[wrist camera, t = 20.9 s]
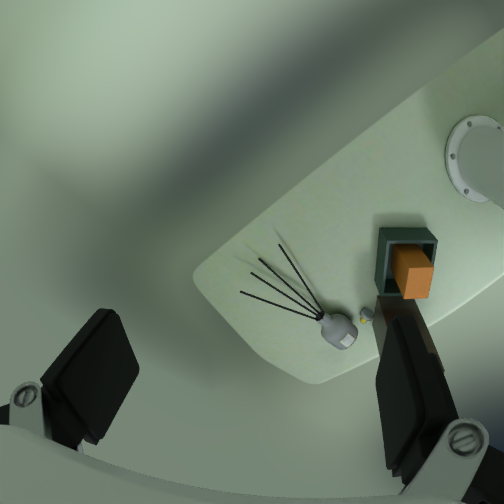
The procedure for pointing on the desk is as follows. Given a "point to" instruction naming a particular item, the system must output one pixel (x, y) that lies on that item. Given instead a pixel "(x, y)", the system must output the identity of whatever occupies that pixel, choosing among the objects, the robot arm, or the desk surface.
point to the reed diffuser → (323, 315)
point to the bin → (385, 247)
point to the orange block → (411, 270)
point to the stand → (399, 306)
